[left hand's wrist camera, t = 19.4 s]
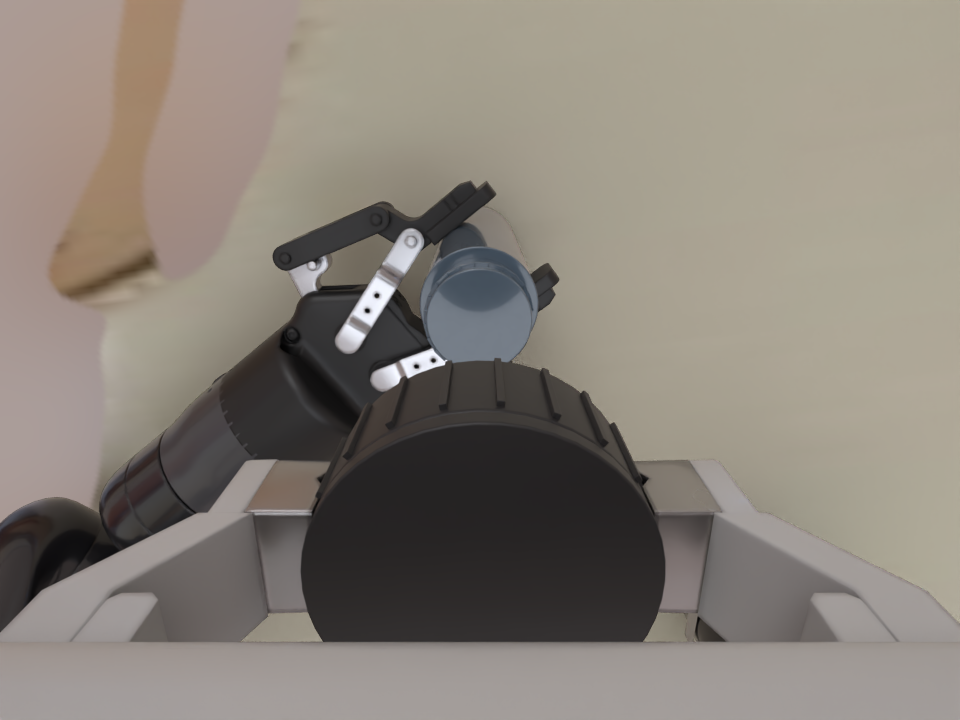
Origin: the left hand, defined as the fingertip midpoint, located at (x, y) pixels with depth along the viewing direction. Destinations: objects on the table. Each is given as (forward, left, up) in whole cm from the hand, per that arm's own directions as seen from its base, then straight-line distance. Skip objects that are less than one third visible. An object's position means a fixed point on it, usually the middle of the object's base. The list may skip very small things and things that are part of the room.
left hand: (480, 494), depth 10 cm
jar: (0, 0, -27) cm, 27 cm away
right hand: (-1, +2, -21) cm, 21 cm away
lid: (0, 0, +2) cm, 2 cm away
